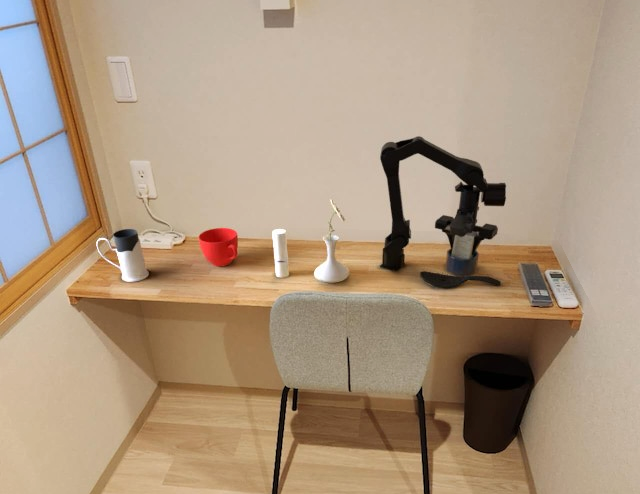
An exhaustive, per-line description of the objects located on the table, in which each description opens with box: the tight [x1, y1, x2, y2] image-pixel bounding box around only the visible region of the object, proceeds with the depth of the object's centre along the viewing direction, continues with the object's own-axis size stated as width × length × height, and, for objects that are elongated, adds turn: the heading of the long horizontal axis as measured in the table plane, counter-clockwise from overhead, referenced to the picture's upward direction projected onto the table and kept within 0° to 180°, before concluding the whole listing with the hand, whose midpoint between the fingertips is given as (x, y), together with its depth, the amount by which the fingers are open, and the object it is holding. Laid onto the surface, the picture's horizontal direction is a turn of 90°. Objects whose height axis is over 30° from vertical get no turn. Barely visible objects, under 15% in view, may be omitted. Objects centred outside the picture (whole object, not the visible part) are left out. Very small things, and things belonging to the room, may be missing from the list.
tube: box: [271, 228, 290, 278], centre depth 176 cm, size 4×4×15 cm
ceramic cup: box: [198, 227, 239, 267], centre depth 186 cm, size 13×17×10 cm
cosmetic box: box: [451, 231, 477, 259], centre depth 176 cm, size 6×4×12 cm
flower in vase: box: [313, 198, 350, 284], centre depth 171 cm, size 13×11×25 cm
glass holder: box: [95, 228, 150, 283], centre depth 179 cm, size 9×14×15 cm, turn 94°
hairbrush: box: [419, 269, 502, 290], centre depth 171 cm, size 8×4×25 cm
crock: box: [444, 248, 480, 276], centre depth 179 cm, size 10×10×6 cm
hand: (462, 252), depth 177 cm, fingers closed on cosmetic box, 6 cm apart
